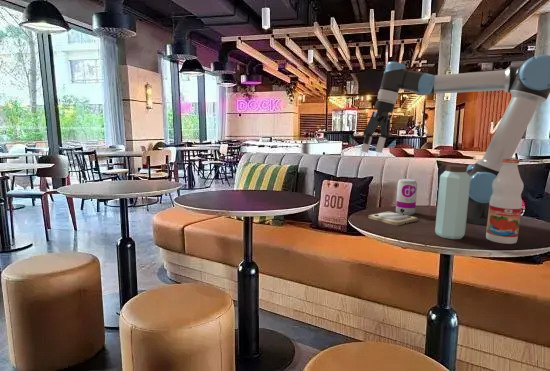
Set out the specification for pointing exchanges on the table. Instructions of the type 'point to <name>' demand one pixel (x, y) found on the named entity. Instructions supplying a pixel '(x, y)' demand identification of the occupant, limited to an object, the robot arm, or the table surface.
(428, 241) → the table surface
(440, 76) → the robot arm
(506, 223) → the fruit juice
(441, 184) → the water bottle
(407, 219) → the dock board
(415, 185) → the supplement can
